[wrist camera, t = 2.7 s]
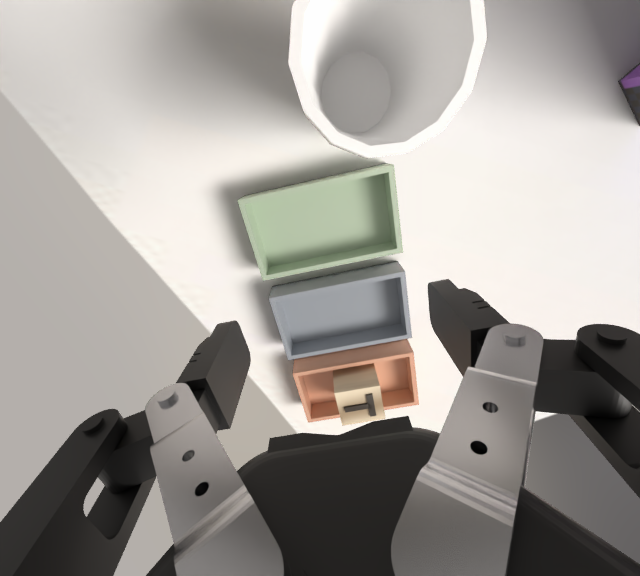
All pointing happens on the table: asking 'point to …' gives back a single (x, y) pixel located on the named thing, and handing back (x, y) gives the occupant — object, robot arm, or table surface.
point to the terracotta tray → (387, 357)
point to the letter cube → (358, 394)
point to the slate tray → (342, 310)
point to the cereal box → (632, 90)
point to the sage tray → (324, 222)
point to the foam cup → (384, 68)
